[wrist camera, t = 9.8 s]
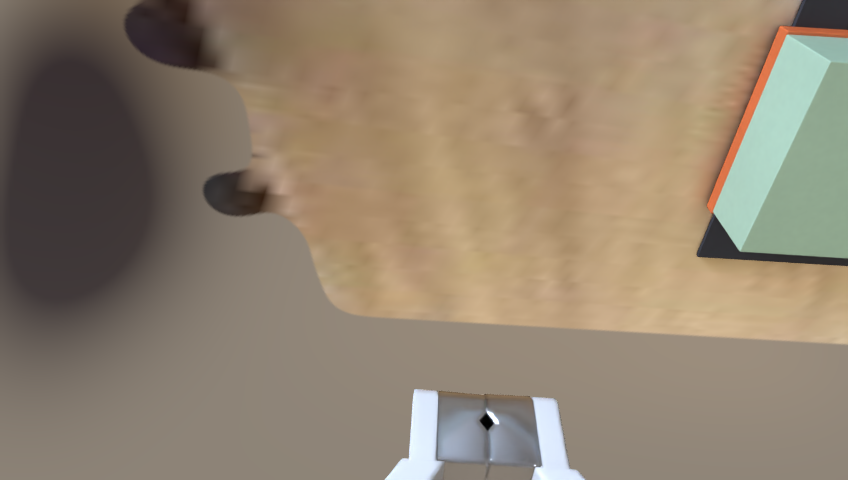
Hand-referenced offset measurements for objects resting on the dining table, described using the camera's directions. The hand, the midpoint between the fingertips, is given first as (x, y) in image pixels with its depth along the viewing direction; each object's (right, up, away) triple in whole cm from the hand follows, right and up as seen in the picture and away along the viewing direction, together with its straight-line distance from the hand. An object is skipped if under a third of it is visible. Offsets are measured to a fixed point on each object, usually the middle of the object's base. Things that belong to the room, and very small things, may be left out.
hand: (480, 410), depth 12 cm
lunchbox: (+19, +9, +22) cm, 30 cm away
